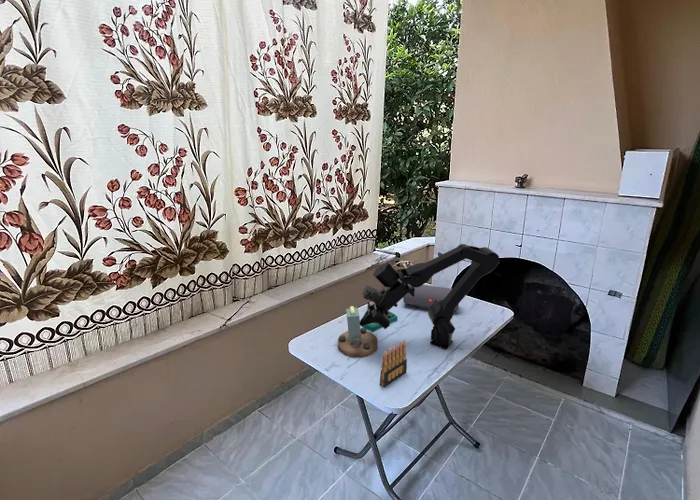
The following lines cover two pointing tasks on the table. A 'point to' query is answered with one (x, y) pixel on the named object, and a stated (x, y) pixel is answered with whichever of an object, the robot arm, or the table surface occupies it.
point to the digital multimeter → (377, 326)
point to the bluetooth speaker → (427, 296)
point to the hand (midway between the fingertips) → (359, 324)
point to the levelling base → (358, 344)
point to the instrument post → (353, 324)
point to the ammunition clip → (393, 364)
